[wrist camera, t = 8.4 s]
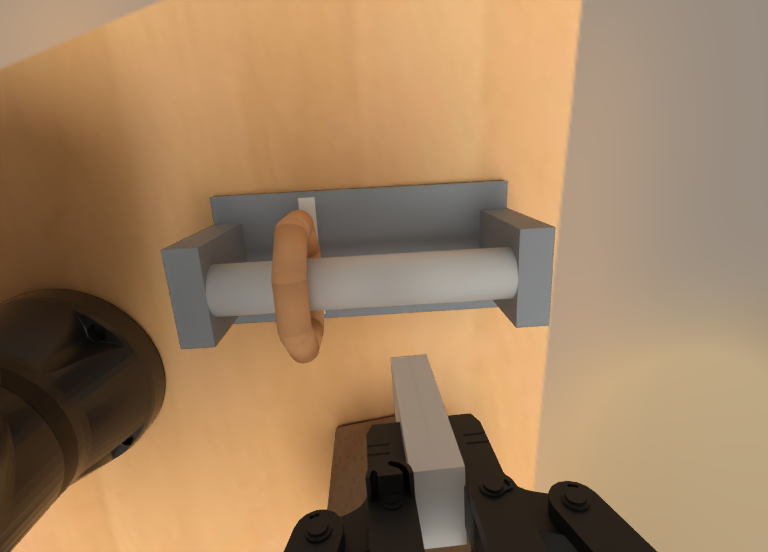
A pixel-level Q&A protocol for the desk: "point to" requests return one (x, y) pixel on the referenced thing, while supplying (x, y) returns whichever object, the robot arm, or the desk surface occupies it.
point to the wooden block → (358, 473)
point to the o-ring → (296, 286)
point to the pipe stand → (365, 257)
